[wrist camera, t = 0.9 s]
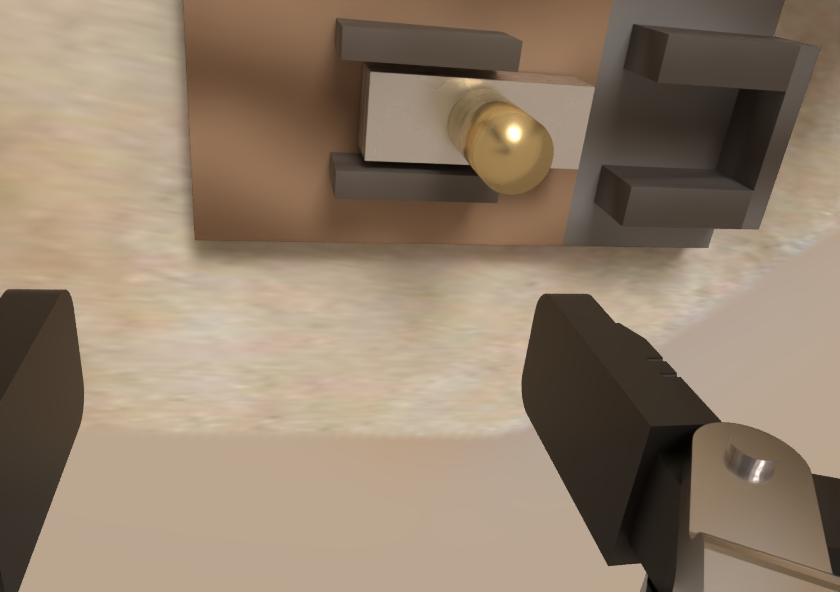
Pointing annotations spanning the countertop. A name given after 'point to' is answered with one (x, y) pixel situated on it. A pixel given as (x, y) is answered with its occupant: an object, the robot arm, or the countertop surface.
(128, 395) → the countertop surface
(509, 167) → the lock bolt
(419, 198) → the door board
